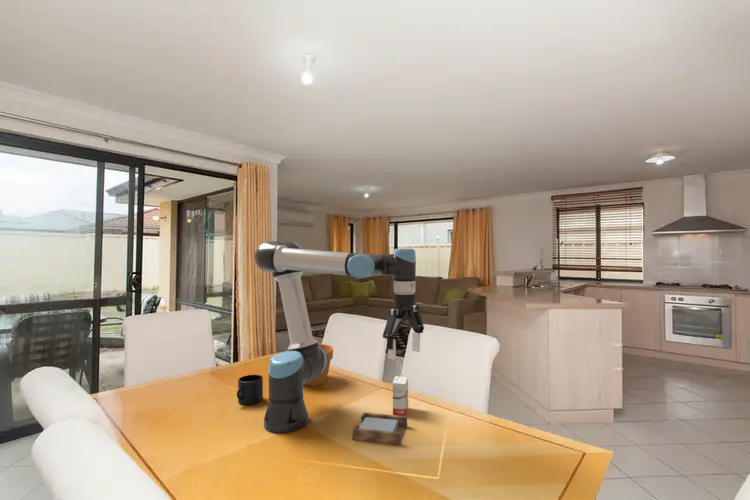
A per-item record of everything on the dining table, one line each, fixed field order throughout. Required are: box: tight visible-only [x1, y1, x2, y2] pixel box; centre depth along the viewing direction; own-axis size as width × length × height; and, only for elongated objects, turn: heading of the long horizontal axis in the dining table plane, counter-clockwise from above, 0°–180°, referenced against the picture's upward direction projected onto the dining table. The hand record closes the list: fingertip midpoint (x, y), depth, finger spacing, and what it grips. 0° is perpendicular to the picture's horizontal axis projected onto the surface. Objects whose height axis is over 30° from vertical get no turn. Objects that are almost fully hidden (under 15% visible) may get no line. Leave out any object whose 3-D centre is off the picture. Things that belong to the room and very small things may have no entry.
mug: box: [236, 374, 264, 406], centre depth 151 cm, size 9×12×9 cm
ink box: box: [392, 375, 409, 416], centre depth 139 cm, size 9×5×12 cm, turn 168°
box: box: [352, 412, 408, 446], centre depth 122 cm, size 15×13×4 cm
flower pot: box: [287, 343, 334, 387], centre depth 175 cm, size 21×21×15 cm
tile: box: [358, 417, 398, 432], centre depth 122 cm, size 11×9×3 cm
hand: (404, 354), depth 130 cm, fingers open, 13 cm apart
